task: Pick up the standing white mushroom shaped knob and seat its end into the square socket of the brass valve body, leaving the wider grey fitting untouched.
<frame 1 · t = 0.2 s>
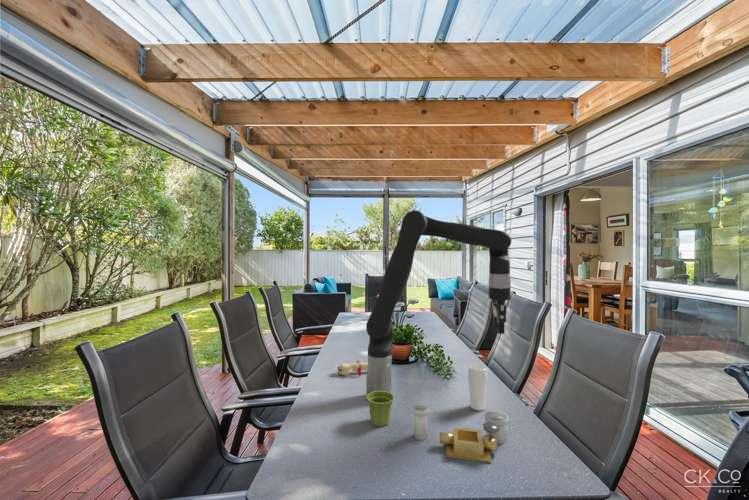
hand: (499, 330, 124), 29 cm above the table, tool pointing down, fingers open, 8 cm apart
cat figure: (363, 374, 160), on the table
white mushroom shaped knob: (420, 436, 106), on the table
valve body: (467, 449, 99), on the table
plant pot: (380, 422, 115), on the table
white tall cylinder: (477, 408, 125), on the table
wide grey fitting: (496, 438, 105), on the table
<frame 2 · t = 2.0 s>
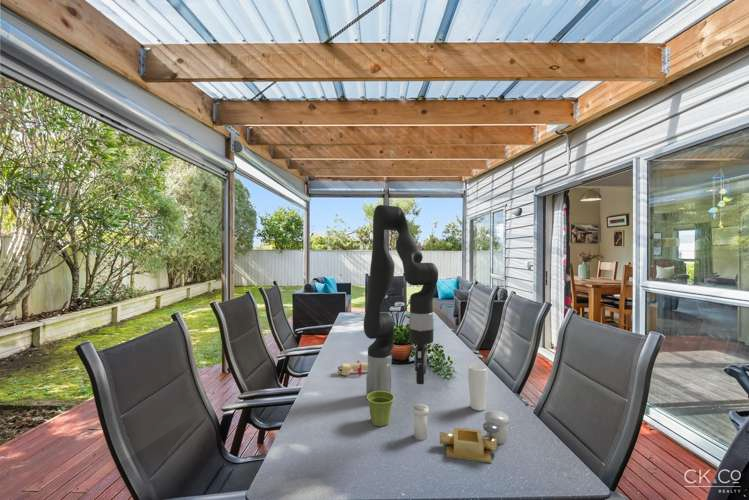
hand: (421, 378, 106), 18 cm above the table, tool pointing down, fingers open, 8 cm apart
nothing on the table moved.
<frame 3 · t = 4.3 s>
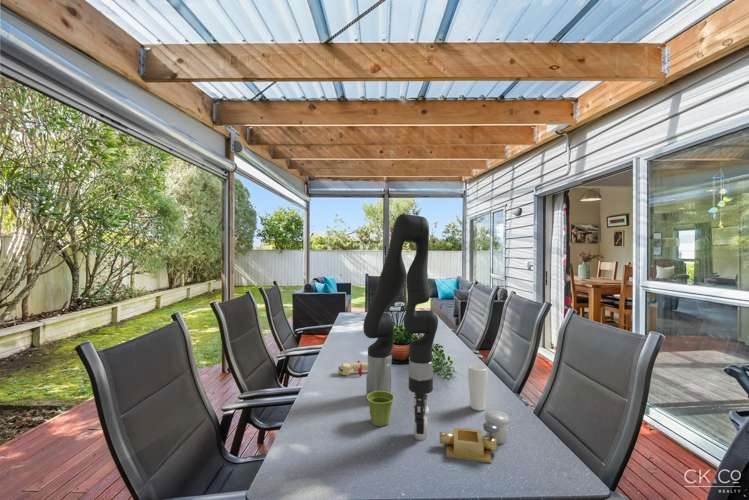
hand: (420, 429, 106), 2 cm above the table, tool pointing down, fingers closed on white mushroom shaped knob, 4 cm apart
white mushroom shaped knob: (420, 436, 106), on the table, touching gripper
everything else where it was.
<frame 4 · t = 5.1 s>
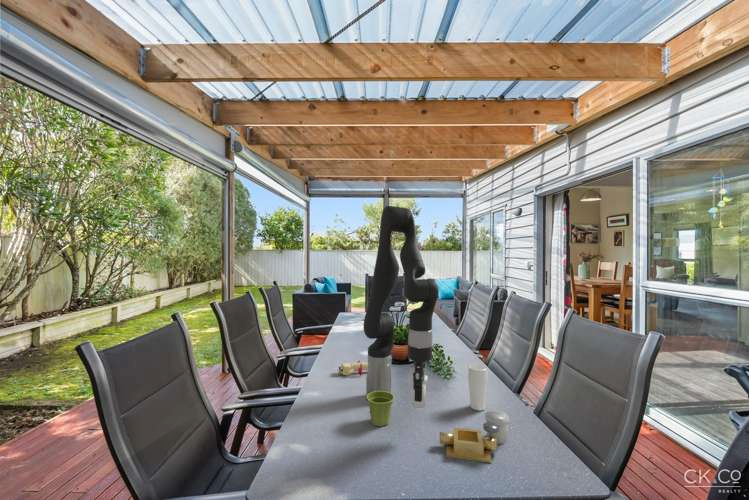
hand: (418, 397, 106), 12 cm above the table, tool pointing down, fingers closed on white mushroom shaped knob, 4 cm apart
white mushroom shaped knob: (418, 404, 106), point 10 cm above the table, touching gripper
everything else where it was.
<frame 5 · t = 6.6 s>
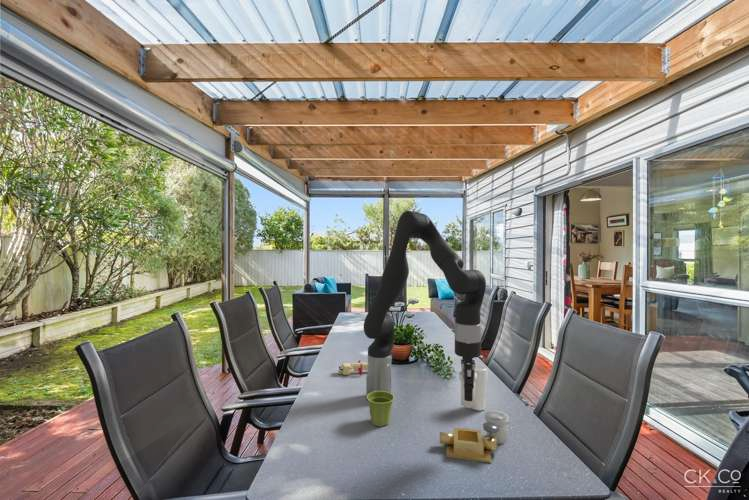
hand: (468, 396, 99), 15 cm above the table, tool pointing down, fingers closed on white mushroom shaped knob, 4 cm apart
white mushroom shaped knob: (468, 404, 99), point 13 cm above the table, touching gripper
everything else where it was.
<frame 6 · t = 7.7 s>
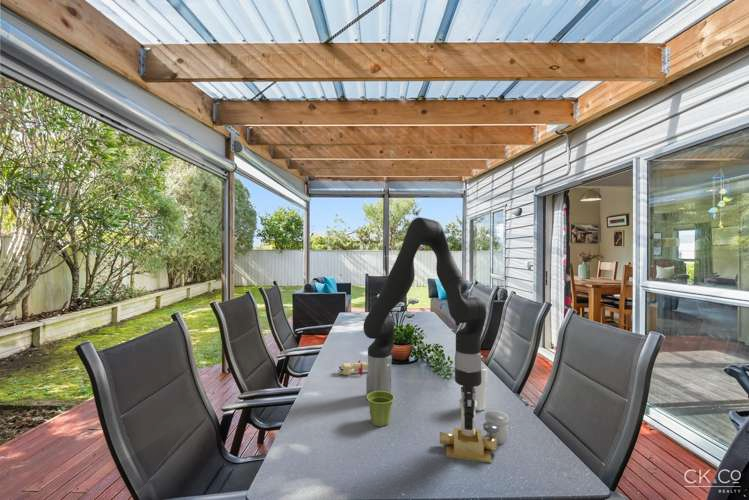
hand: (468, 424, 99), 7 cm above the table, tool pointing down, fingers closed on white mushroom shaped knob, 4 cm apart
white mushroom shaped knob: (468, 432, 99), point 5 cm above the table, touching gripper
everything else where it was.
when the fingers open (5 cm above the table, at t = 8.4 s): white mushroom shaped knob drops 2 cm, resting on valve body.
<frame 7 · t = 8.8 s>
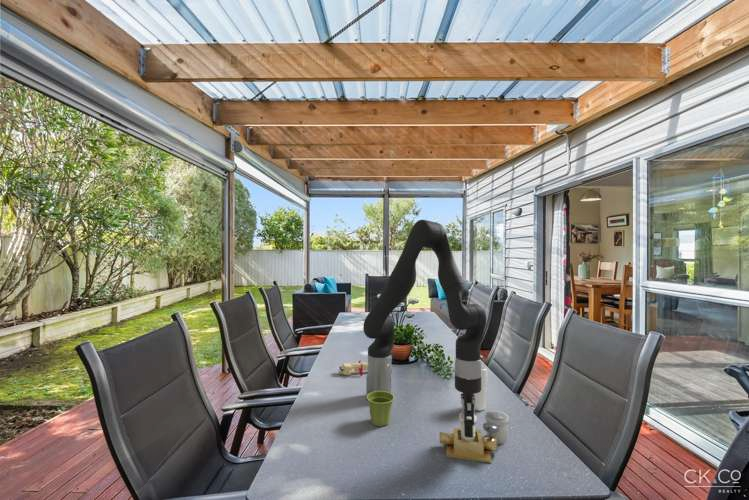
hand: (467, 429, 99), 6 cm above the table, tool pointing down, fingers open, 8 cm apart
white mushroom shaped knob: (467, 447, 98), point 1 cm above the table, touching valve body
everything else where it was.
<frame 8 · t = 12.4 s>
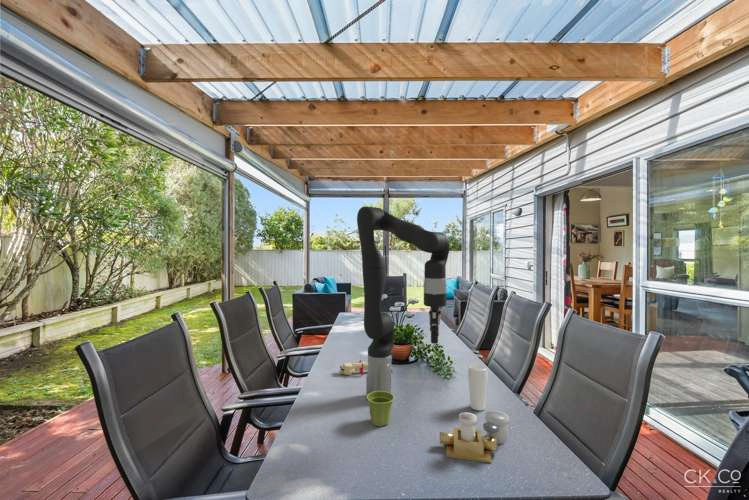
hand: (434, 339, 114), 28 cm above the table, tool pointing down, fingers open, 8 cm apart
at the end: white mushroom shaped knob 0.8 cm off-centre on the valve body, point 1.0 cm above the valve body's base; white mushroom shaped knob tilted 0°; the gripper is holding nothing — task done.
